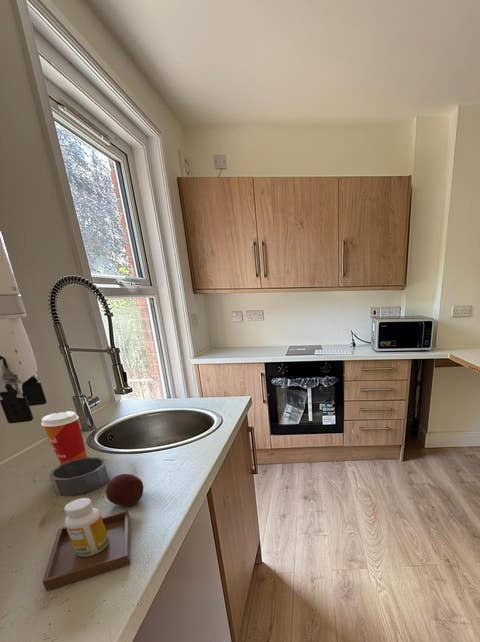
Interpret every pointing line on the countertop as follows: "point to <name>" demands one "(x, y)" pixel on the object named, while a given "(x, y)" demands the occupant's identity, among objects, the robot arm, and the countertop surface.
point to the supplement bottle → (85, 527)
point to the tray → (74, 568)
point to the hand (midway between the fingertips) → (29, 412)
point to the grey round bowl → (80, 476)
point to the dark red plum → (124, 489)
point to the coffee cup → (65, 435)
